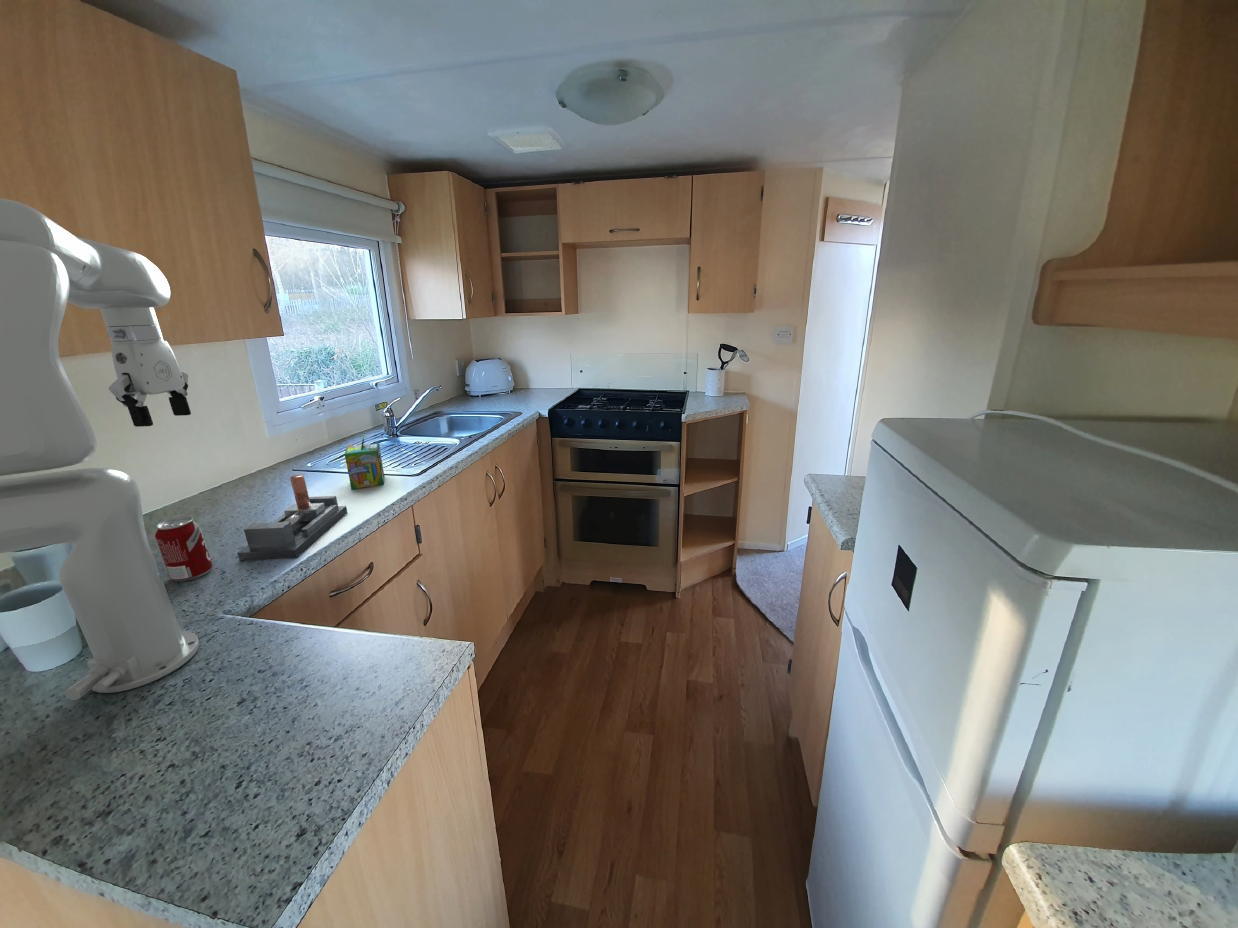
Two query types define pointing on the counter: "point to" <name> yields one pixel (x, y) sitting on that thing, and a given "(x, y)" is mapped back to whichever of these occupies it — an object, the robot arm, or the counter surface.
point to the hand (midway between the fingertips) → (164, 420)
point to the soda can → (183, 549)
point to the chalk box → (364, 465)
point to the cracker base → (298, 540)
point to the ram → (302, 503)
